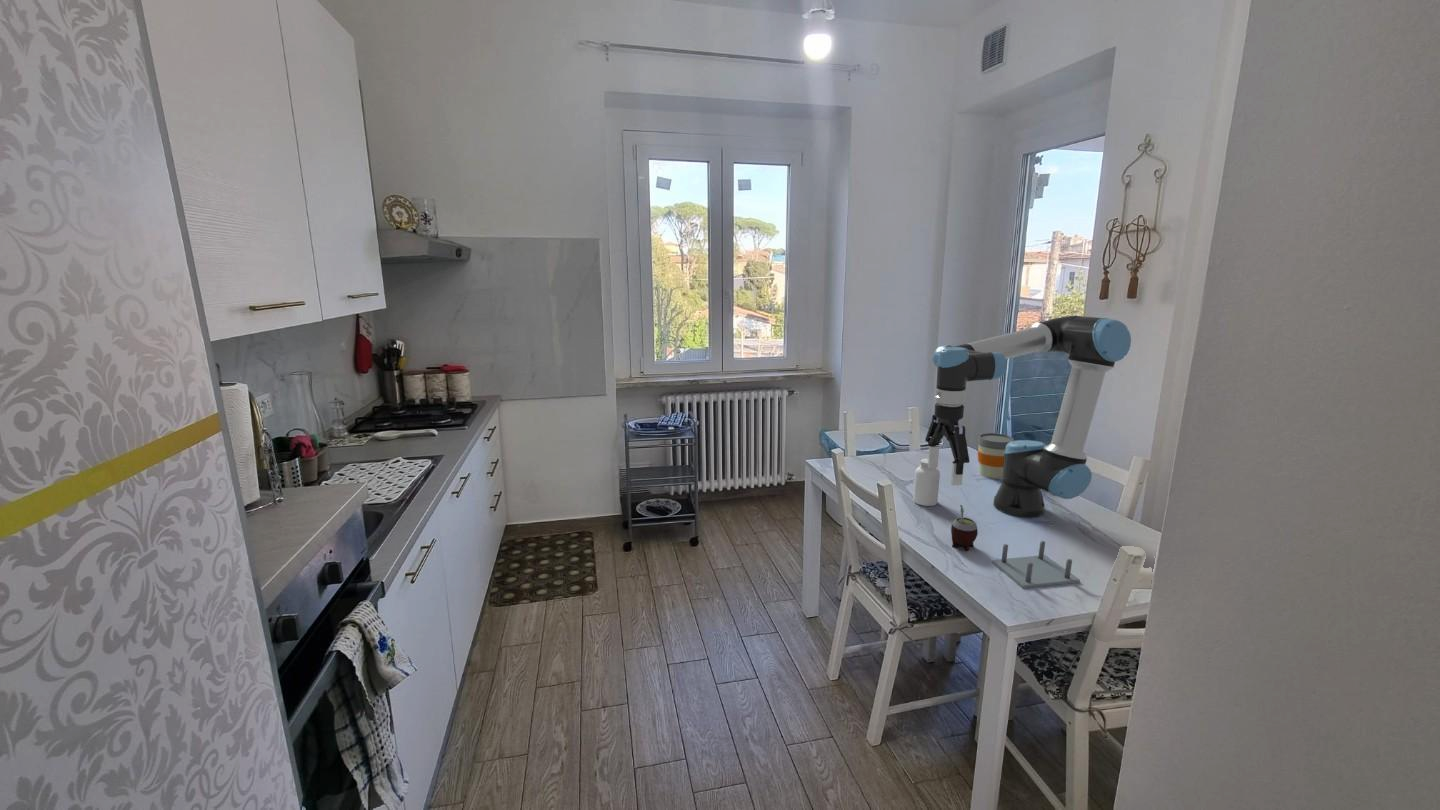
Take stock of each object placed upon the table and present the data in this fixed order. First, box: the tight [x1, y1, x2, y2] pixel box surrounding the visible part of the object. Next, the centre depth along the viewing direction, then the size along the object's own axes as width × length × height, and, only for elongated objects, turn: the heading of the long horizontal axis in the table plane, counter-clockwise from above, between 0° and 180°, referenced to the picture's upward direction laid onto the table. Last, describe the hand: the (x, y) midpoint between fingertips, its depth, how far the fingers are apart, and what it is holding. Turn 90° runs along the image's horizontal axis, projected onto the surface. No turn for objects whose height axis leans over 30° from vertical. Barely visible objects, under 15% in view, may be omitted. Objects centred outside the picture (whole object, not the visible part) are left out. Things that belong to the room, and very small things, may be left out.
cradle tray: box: [991, 540, 1081, 589], centre depth 152 cm, size 16×13×6 cm
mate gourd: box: [950, 504, 979, 553], centre depth 165 cm, size 8×8×15 cm
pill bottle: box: [912, 458, 941, 507], centre depth 196 cm, size 8×8×15 cm
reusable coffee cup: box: [977, 432, 1015, 480], centre depth 220 cm, size 13×13×15 cm
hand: (944, 475), depth 164 cm, fingers open, 13 cm apart
